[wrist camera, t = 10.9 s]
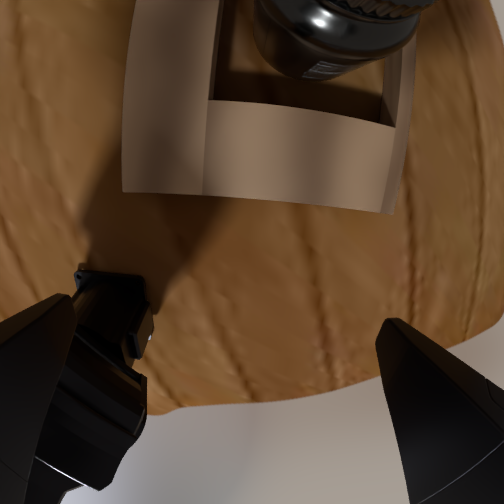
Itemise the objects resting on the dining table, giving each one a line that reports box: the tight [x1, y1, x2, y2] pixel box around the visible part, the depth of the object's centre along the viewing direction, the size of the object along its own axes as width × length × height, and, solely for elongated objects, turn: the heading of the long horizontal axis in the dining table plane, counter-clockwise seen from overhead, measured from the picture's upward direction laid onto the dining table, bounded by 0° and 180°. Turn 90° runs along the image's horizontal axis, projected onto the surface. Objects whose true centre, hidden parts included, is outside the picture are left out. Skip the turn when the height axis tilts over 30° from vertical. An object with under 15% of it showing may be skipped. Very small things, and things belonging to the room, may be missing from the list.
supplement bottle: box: [253, 0, 439, 82], centre depth 9 cm, size 7×7×12 cm
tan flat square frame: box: [122, 0, 416, 215], centre depth 14 cm, size 17×18×2 cm
